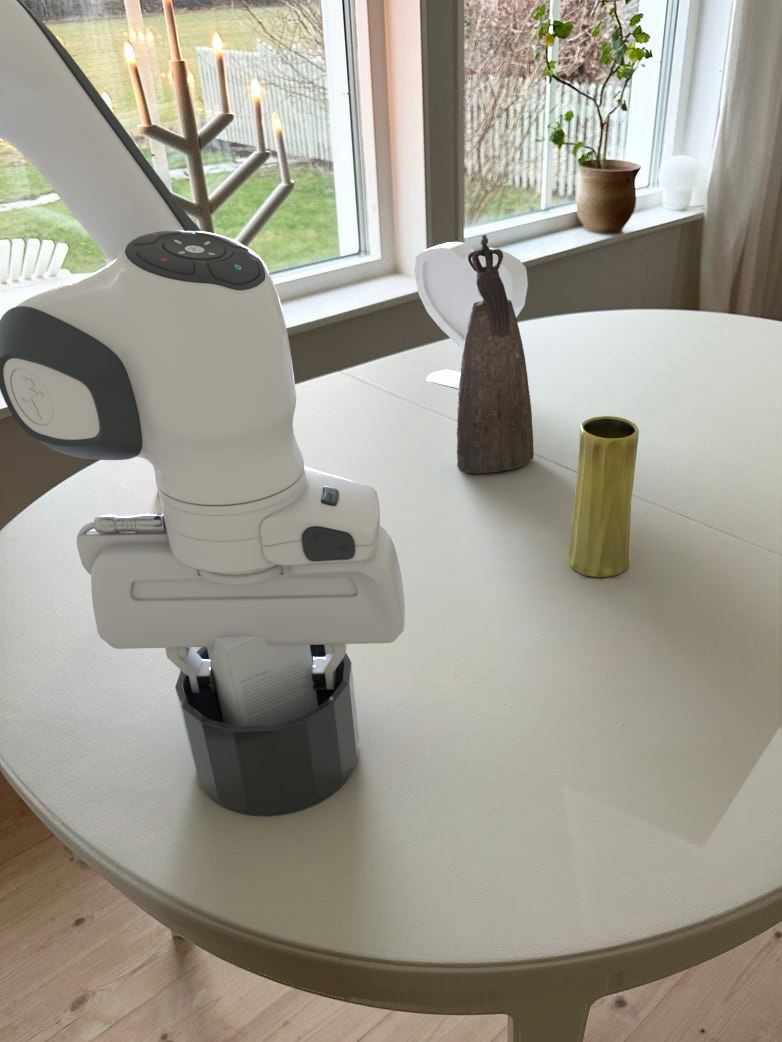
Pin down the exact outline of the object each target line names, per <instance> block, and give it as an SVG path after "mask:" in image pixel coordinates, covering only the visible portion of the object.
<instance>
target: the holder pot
mask: <svg viewBox="0 0 782 1042" xmlns="http://www.w3.org/2000/svg"><path fill="white" fill-rule="evenodd" d="M310 650H311V657H312V664H313V659H314V658H320V657H325V656H326V653H325V646H324V644H320V645H310ZM196 652H197V653H198V655H199V656H200V657H201V658H202V659H203V660H210V659H209V655H208V650H207V647H199V649H197V651H196ZM174 688H175V692H176V697H177V701H178V704H179V705H178V706H179V710H180V713H181V717H182V721H183V726H184V730H185V735H186V738H187V744H188V747H189V751H190V755H191V760H192V764H193V766H194V770H195V774H196V777H197V781H198V783H199V786H200V788H201V789H202V790H203V792H204V794H205V795H206V796H207V797H208V798H209V799H210V800H211V801H213V802H214V803H215V804H217V805H219V806H220V807H222V808H224V809H227V810H229V811H232V812H235V813H239V814H243V815H246V816H247V815H248V816H257V817H258V816H261V817H270V816H271V817H272V816H281V815H288V814H292V813H296V812H299V811H302V810H305V809H308V808H311V807H313V806H315V805H318V804H319V803H321V802H323V801H325V800H327V799H328V798H330V797H331V796H332V795H334V794H335V793H336V792H337V791H339V790H340V789H341V788H342V787H343V786H344V785H345V784H346V783H347V782H348V781H349V779H350V777H351V776H352V774H353V772H354V770H355V769H356V766H357V763H358V760H359V743H360V742H359V740H360V737H359V726H358V717H357V716H358V715H357V706H356V697H355V696H356V695H355V684H354V675H353V665H352V661H351V659H350V657H349V655H348V653H346V654H345V656H344V657H343V659H342V660H341V662H340V664H339V665H338V667H337V668H336V682H335V689H334V690H316V693H317V700H318V707H317V708H315V709H314V710H312V711H310V712H309V713H307V714H305V715H304V716H302V717H299V718H295V719H291V720H288V721H284V722H281V723H277V724H274V725H270V726H232V725H229V724H225V723H224V721H223V717H222V713H221V708H220V704H219V699H218V695H217V690H216V686H215V692H208V693H193V692H192V688H191V684H190V680H189V676H187V675H186V674H184V673H183V672H182V671H181V670H180V672H179V676H178V678H177V680H176V684H175V687H174Z"/></svg>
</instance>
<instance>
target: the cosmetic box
mask: <svg viewBox="0 0 782 1042" xmlns="http://www.w3.org/2000/svg"><path fill="white" fill-rule="evenodd" d="M263 638H264V637H263V636H238V637H217V638H215V640H214V643H215V646H214V647H207V650H208V655H209V659H210V663H211V668H212V672H213V677H214V681H215V686H216V690H217V695H218V699H219V704H220V708H221V713H222V717H223V721H224V723H225V724H229V725H232V726H270V725H274V724H277V723H281V722H284V721H288V720H291V719H295V718H299V717H302V716H304V715H305V714H307V713H309V712H310V711H312V710H314V709H315V708H317V707H318V700H317V693H316V690H313V681H312V675H311V672H312V667H313V664H312V657H311V650H310V645H273V646H270V645H267V644H266V642H265V641H264V639H263Z"/></svg>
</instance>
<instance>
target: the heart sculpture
mask: <svg viewBox="0 0 782 1042" xmlns="http://www.w3.org/2000/svg"><path fill="white" fill-rule="evenodd" d="M489 249H492V250H493V249H494V250H495V249H497V248H496V247H489ZM500 250H501V251H502V252H503V260H502V263H501V265H500V268H499V269H498V271H499V276H500V278H501V280H502V282H503V285H504V288H505V292H506V296H507V300H511V301H512V305H513V309H514V312H515V316H516V319H517V318H518V316H519V315H520V313H521V311H522V310H523V308H524V307H525V304H526V299H527V293H528V286H529V281H528V271H527V268H526V266H525V265H524V263H523V262H522V261H521V260H520V259H519V258H518V257H515V256H514V255H512V254H511V253H510V252H507V251H505V250H502V249H500ZM473 251H475V249H474V248H473V247H472V246H470V245H469V244H468V243H465V242H461V241H452V242H451V241H450V242H449V241H448V242H444V243H442V244H437V245H435V246H432V247H429V248H427V249H424V250H421V251H420V252H419V253H418V254H417V255H416V256H415V262H414V263H415V265H414V278H415V284H416V289H417V294H418V296H419V298H420V300H421V303H422V304H423V307H424V309H425V311H426V312H427V314H428V315H429V317H431V319H432V321H434V322H435V324H436V325H437V326H438V327H439V329H440V330H441V331H442V332H443V333H444V334H446V336H448V337H449V338H450V339H451V340H452V342H454V343H455V345H457V346H458V347H459V348H460V349H461V357H462V356H463V350H464V344H465V338H466V333H467V327H468V323H469V318H470V314H471V310H472V306H473V304H474V303H476V302H479V301H482V300H483V298H482V297H481V296H480V294H479V293H478V290H477V286H476V279H477V277H476V274H477V272H476V271H474V269H473V268H472V267H471V266H470V264H469V262H468V254H470V253H471V252H473ZM478 257H479V261H480V263H481V265H482V267H486V260H485V257H484V256H478ZM471 261H472V257H471ZM497 262H498V256H497V255H496V254H493V266H495V265H496V264H497ZM472 263H473V262H472ZM460 374H461V372H458V371H454V370H451V369H443V370H439V371H434V372H432V373H430V374H429V375H428V376H427V378H426V381H427V382H431V383H434V384H439V385H442V386H446V387H451V388H455V389H458V390H459V383H460Z"/></svg>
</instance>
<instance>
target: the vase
mask: <svg viewBox="0 0 782 1042" xmlns="http://www.w3.org/2000/svg"><path fill="white" fill-rule="evenodd" d="M639 432H640V430H639V428H638V426H637V424H635V423H634V422H633V421H631V420H629V419H626V418H623V417H619V416H614V415H613V416H611V415H604V416H603V415H601V416H595V417H591V418H588V419H585V420H584V421H583V422H582V423H581V425H580V431H579V449H578V460H577V461H578V462H577V471H576V482H575V491H574V492H575V494H574V499H573V500H574V501H573V510H572V518H571V527H570V535H569V547H568V548H569V549H568V554H567V557H566V561H567V564H568V565H569V567H570V568H571V569H572V570H574V571H575V572H577V573H578V574H581V575H584V576H586V577H591V578H598V579H599V578H602V579H603V578H611V577H616V576H618V575H620V574H622V573H624V572H625V571H626V570H627V569H628V568H629V565H630V546H631V545H630V543H631V541H630V540H631V522H632V521H631V516H632V498H633V492H634V491H633V489H634V481H635V472H636V471H635V470H636V461H637V453H638V444H639V437H640V435H639V434H640V433H639Z"/></svg>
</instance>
